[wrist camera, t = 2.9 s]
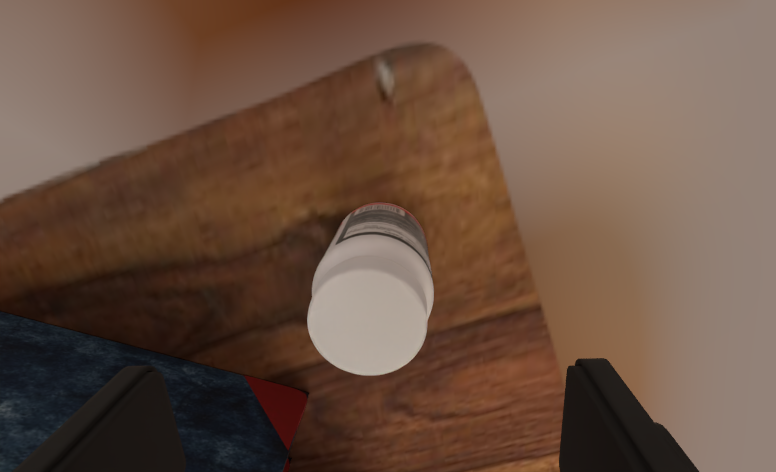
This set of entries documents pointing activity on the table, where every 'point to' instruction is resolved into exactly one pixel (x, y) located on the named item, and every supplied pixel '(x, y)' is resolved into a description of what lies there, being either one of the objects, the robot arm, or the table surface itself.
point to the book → (184, 385)
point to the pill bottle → (372, 292)
